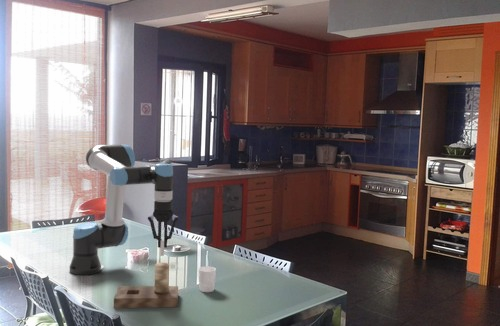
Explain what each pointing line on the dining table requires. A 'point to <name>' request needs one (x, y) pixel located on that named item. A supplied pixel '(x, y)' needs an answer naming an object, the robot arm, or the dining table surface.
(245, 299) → the dining table surface
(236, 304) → the dining table surface
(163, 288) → the beech peg
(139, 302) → the walnut board
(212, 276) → the white cup
